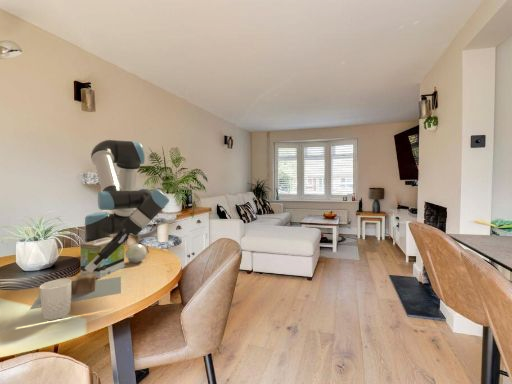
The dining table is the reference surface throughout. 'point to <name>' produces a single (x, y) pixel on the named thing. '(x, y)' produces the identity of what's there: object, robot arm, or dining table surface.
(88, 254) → the tea box
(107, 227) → the robot arm
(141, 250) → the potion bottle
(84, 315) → the dining table surface
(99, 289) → the rubber mat
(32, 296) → the dining table surface
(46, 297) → the white cup
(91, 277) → the walnut block
